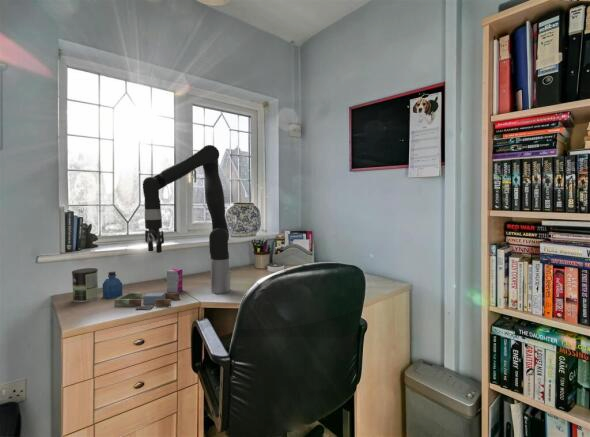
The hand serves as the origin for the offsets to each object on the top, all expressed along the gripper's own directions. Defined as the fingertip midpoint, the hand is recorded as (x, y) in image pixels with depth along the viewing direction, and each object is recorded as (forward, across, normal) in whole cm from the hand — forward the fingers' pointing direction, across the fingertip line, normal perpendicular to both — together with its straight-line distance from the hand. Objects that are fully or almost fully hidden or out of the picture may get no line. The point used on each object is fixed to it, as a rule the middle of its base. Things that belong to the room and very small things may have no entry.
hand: (154, 251), depth 150 cm
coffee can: (+22, +24, +23) cm, 40 cm away
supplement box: (+23, +2, -11) cm, 25 cm away
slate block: (+23, -7, +5) cm, 24 cm away
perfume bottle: (+22, +19, +13) cm, 32 cm away
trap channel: (+22, -5, +7) cm, 24 cm away
